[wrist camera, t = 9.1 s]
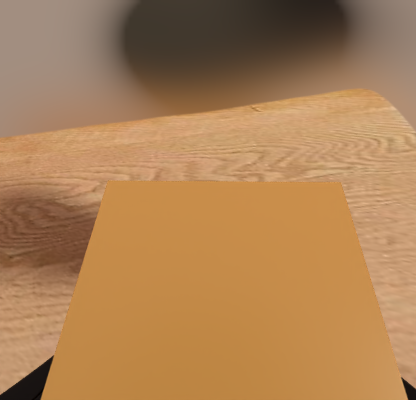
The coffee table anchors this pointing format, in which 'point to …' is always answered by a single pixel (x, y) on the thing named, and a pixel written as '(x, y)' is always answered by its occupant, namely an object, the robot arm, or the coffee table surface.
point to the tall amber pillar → (224, 298)
